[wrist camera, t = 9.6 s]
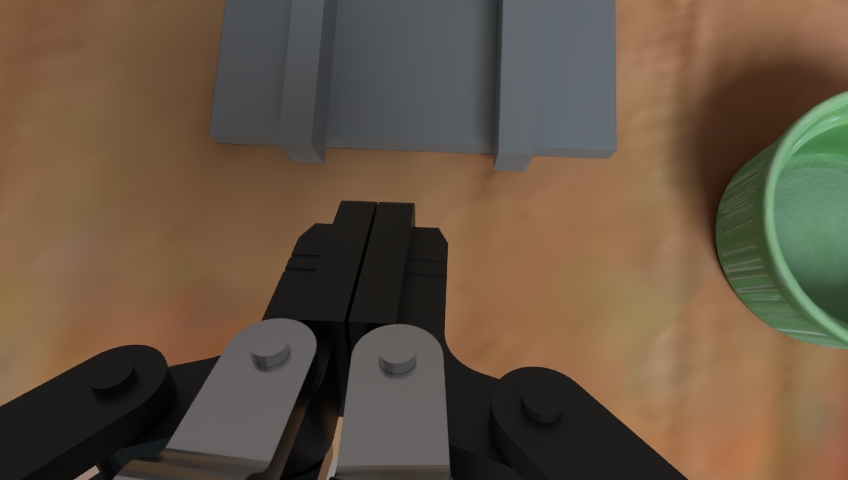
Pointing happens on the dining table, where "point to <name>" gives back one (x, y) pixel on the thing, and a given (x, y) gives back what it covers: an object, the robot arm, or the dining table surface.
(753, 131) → the dining table surface
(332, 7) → the mount
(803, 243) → the ramekin
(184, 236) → the dining table surface
